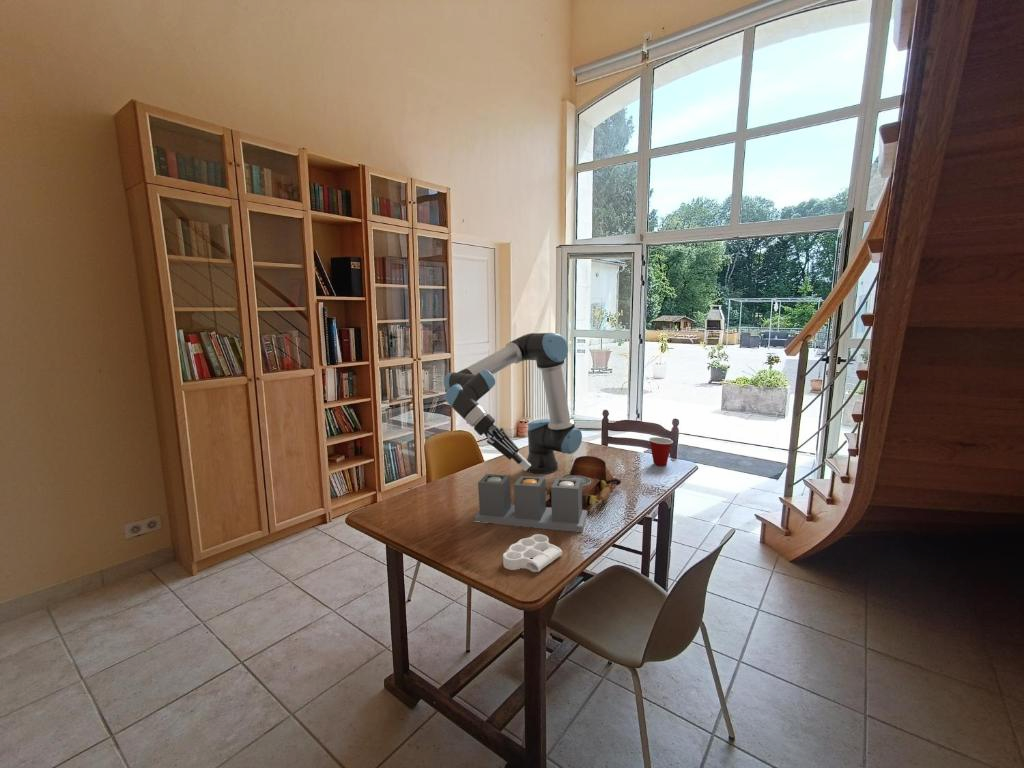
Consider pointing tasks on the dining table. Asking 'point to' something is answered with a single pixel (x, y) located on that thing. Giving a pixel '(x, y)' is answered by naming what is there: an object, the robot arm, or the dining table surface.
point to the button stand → (531, 504)
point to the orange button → (529, 481)
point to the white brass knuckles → (531, 553)
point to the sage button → (494, 479)
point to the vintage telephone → (590, 480)
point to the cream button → (566, 484)
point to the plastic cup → (660, 450)
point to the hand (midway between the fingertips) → (528, 468)
